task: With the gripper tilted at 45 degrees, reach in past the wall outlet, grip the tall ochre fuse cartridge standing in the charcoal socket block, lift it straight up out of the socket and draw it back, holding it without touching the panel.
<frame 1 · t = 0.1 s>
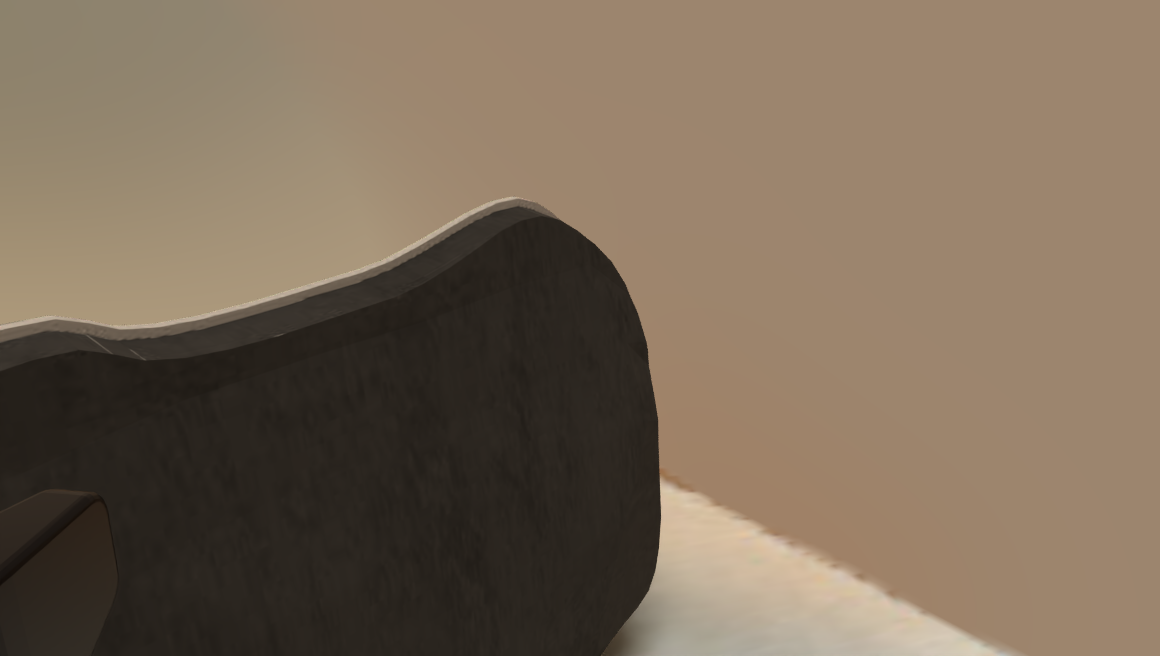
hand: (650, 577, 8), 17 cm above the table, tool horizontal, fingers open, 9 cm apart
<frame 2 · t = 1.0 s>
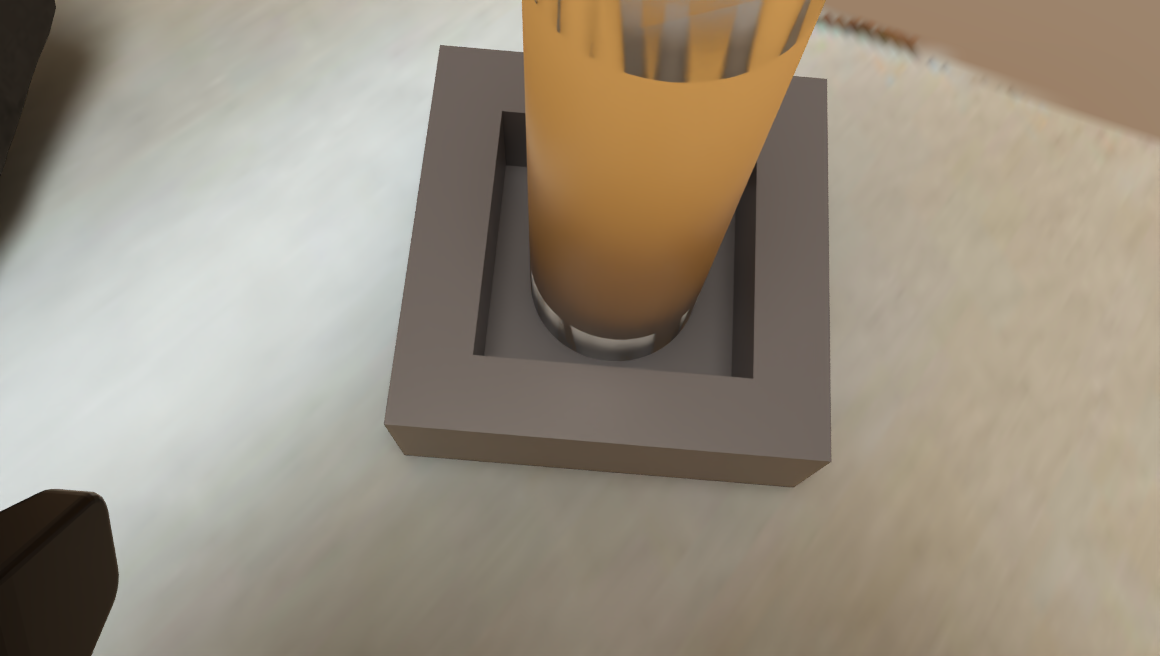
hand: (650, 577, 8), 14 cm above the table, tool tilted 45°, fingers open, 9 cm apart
fuse cartridge: (613, 282, 23), resting on socket block
socket block: (612, 289, 23), on the table
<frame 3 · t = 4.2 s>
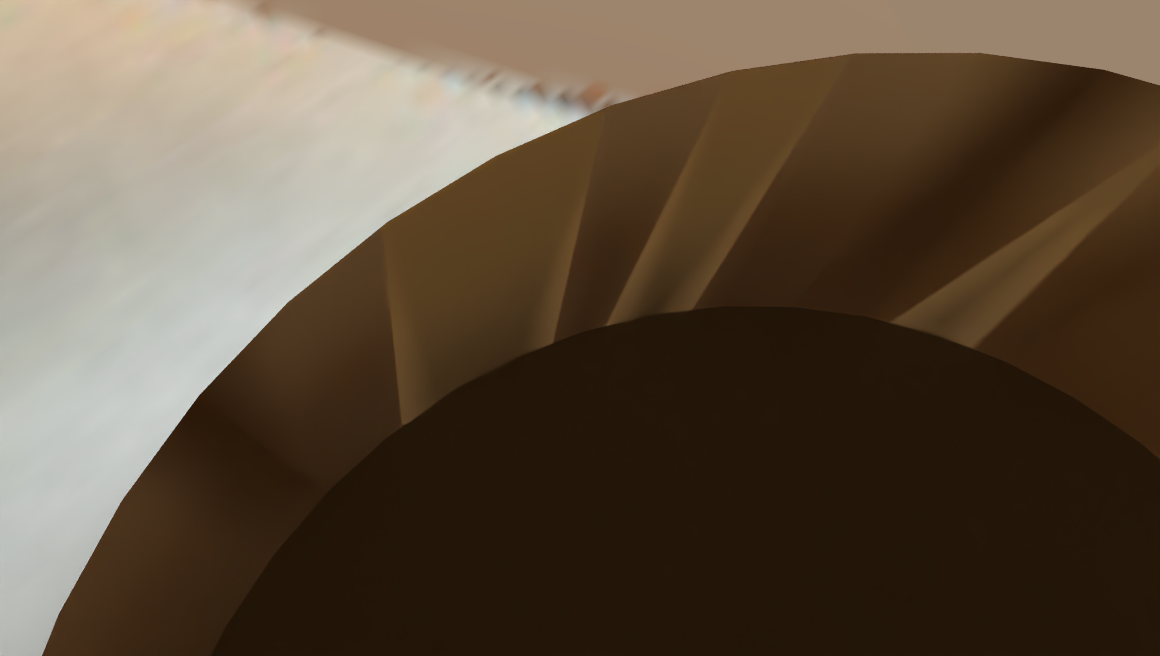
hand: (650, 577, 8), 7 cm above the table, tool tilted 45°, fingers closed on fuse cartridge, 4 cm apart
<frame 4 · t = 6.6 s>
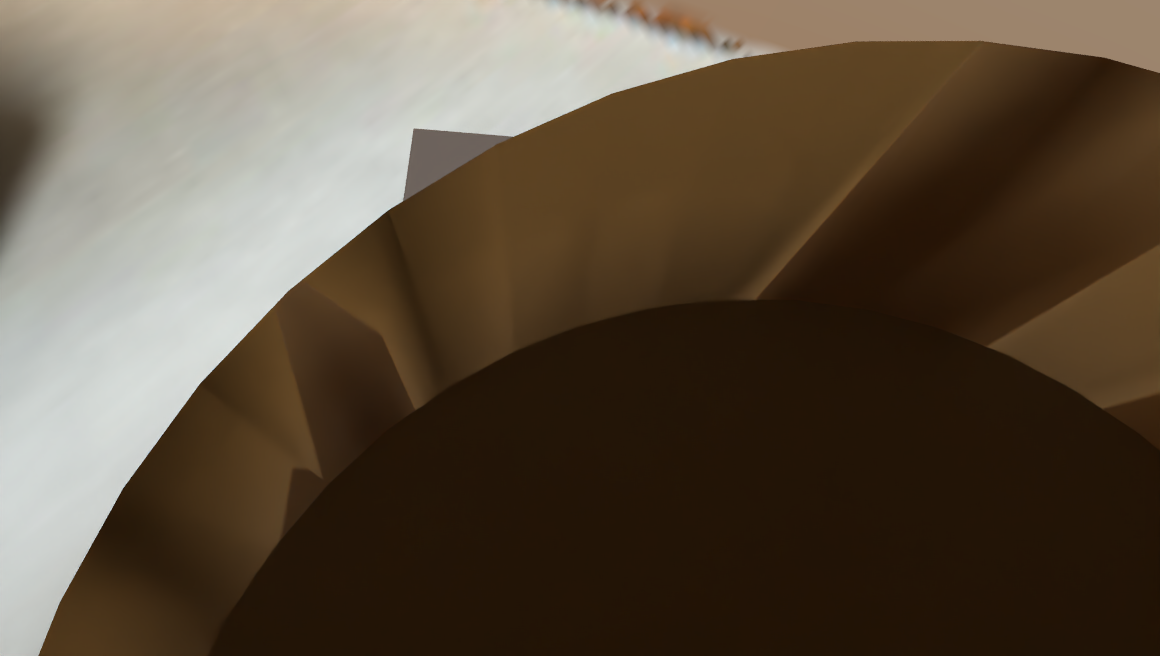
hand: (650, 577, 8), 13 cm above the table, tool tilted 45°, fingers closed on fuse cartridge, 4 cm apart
socket block: (601, 384, 22), on the table
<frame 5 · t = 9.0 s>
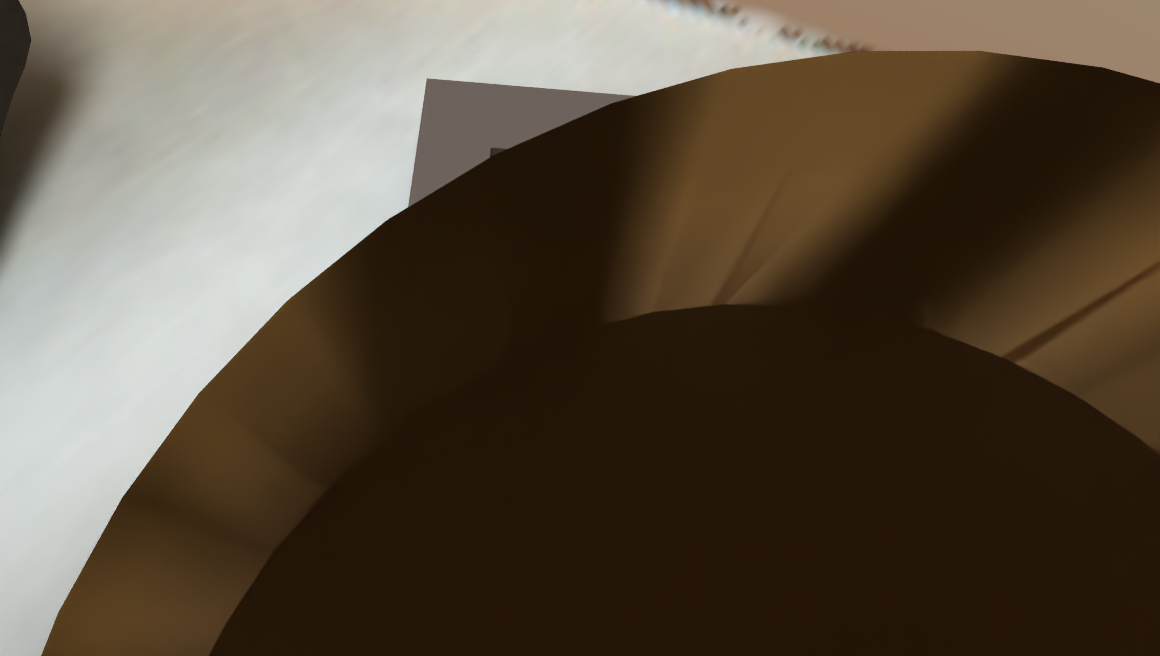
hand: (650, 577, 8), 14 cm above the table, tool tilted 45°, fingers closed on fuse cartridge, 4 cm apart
socket block: (605, 326, 23), on the table
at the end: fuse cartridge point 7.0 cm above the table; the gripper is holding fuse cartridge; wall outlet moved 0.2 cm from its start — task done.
